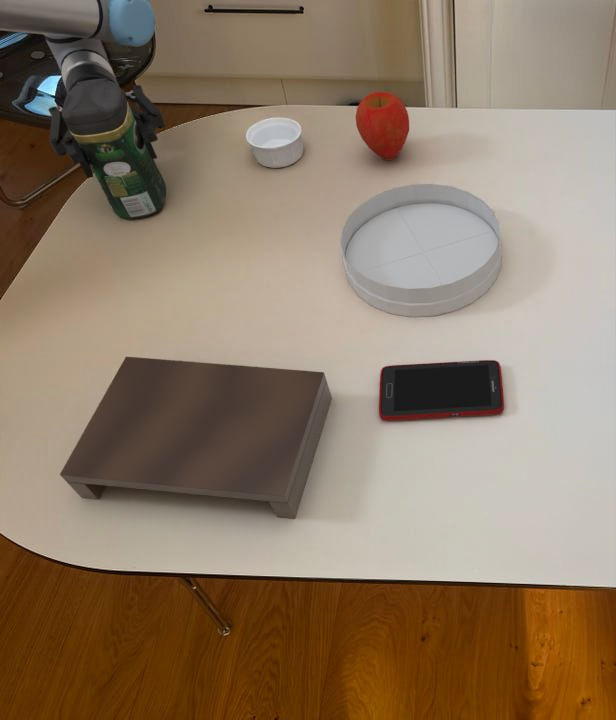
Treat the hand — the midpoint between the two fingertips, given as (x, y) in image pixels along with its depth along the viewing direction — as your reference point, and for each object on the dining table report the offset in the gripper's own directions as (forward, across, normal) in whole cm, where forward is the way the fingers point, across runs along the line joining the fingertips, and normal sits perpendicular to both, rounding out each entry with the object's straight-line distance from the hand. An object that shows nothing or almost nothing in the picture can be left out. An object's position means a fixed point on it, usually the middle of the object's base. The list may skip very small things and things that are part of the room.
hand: (119, 159), depth 99 cm
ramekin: (-6, -23, -11) cm, 26 cm away
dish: (+29, -32, -11) cm, 45 cm away
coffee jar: (-5, 0, -11) cm, 12 cm away
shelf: (+45, +2, -10) cm, 46 cm away
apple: (+4, -38, -11) cm, 40 cm away
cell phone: (+51, -24, -10) cm, 58 cm away
